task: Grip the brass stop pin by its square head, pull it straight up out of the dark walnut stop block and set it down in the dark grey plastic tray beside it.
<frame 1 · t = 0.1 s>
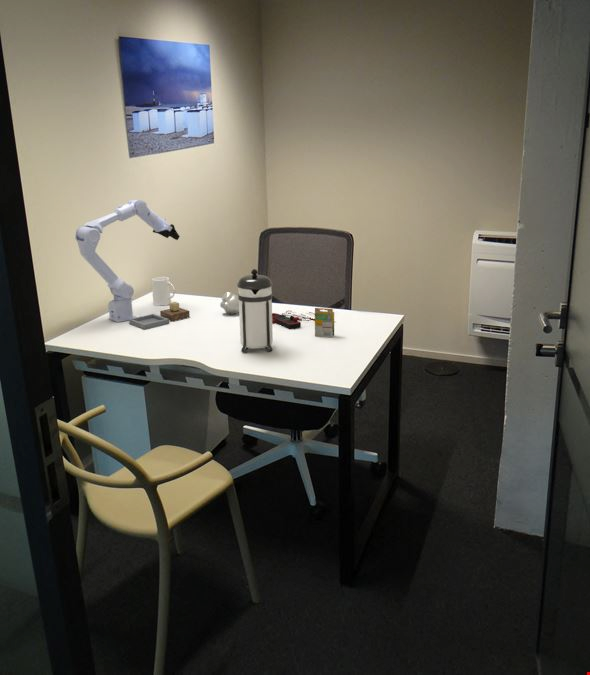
hand: (173, 237, 302), 32 cm above the table, tool tilted 50°, fingers open, 7 cm apart
digital clamp meter: (298, 322, 287), on the table
tray: (149, 323, 285), on the table
coffee press: (255, 347, 254), on the table
stop block: (175, 317, 294), on the table
mug: (164, 304, 316), on the table
stop pin: (174, 310, 293), in the stop block
white piggy bank: (231, 314, 299), on the table
crayon box: (324, 336, 266), on the table
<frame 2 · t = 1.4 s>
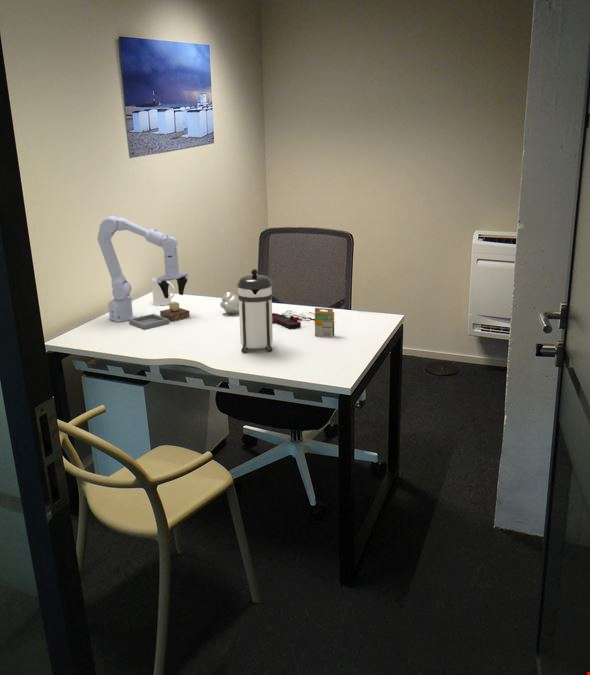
hand: (173, 296, 291), 9 cm above the table, tool pointing down, fingers open, 7 cm apart
nothing on the table moved.
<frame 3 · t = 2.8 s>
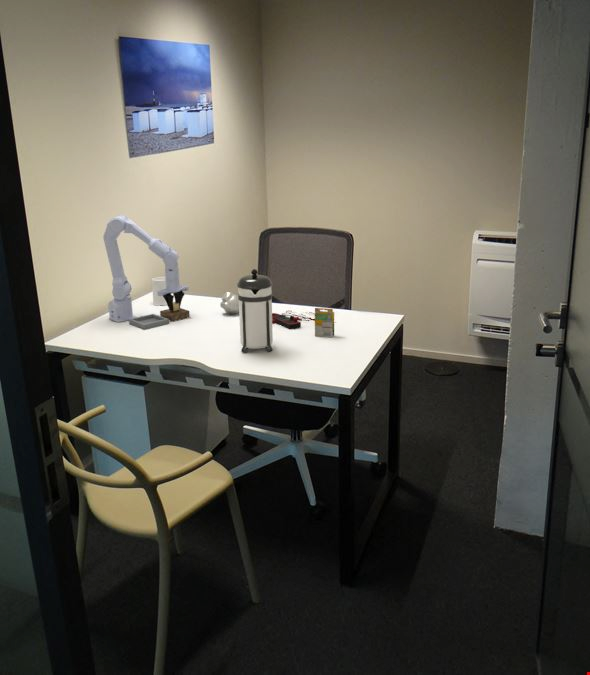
hand: (174, 309, 293), 4 cm above the table, tool pointing down, fingers closed on stop pin, 3 cm apart
stop pin: (174, 310, 293), in the stop block, touching gripper
everything else where it was.
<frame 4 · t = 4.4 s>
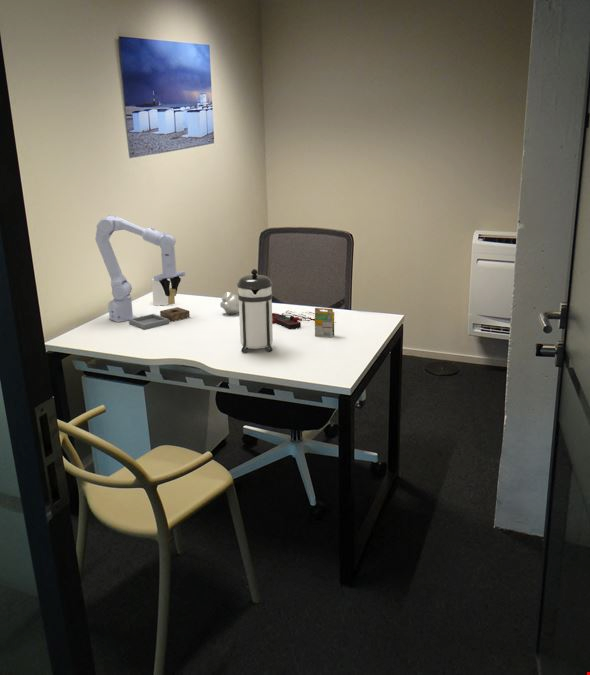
hand: (170, 295, 290), 10 cm above the table, tool pointing down, fingers closed on stop pin, 3 cm apart
stop pin: (171, 296, 290), point 10 cm above the table, touching gripper
everything else where it was.
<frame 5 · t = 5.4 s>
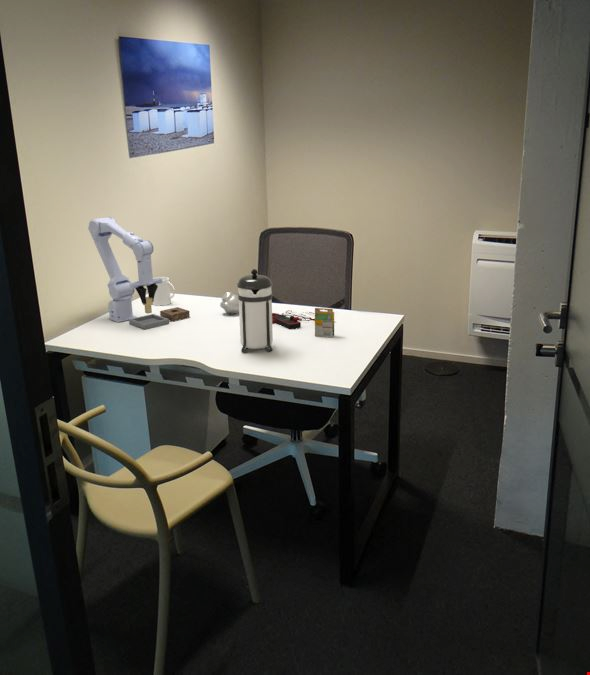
hand: (147, 302, 282), 9 cm above the table, tool pointing down, fingers closed on stop pin, 3 cm apart
stop pin: (147, 305, 283), point 8 cm above the table, touching gripper
everything else where it was.
when the fingers open (6 cm above the table, at t = 6.2 s): stop pin drops 1 cm, resting on tray.
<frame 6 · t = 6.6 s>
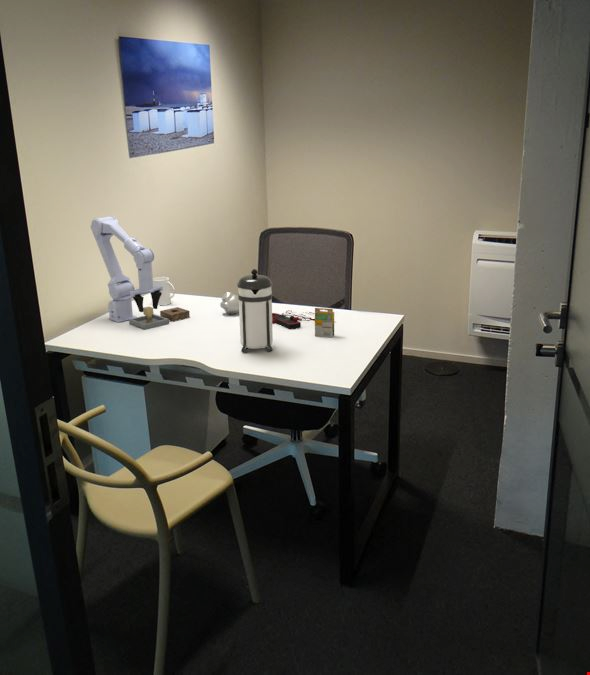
hand: (148, 310, 283), 6 cm above the table, tool pointing down, fingers open, 6 cm apart
stop pin: (148, 315, 284), in the tray
everything else where it was.
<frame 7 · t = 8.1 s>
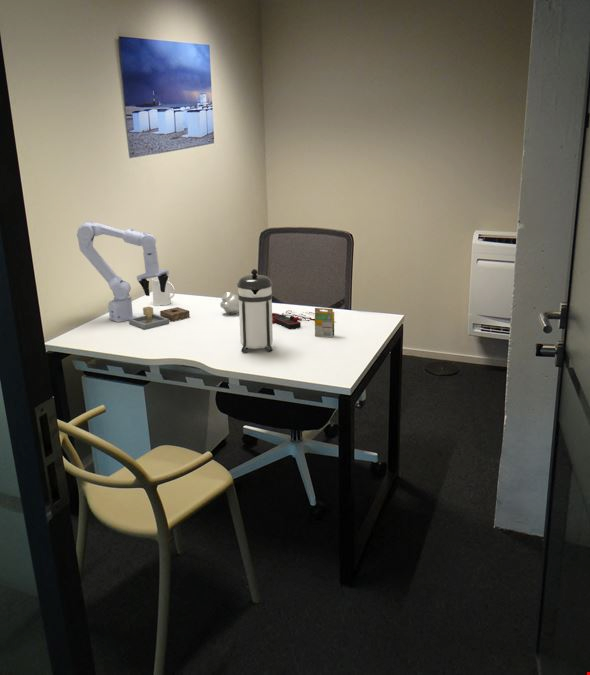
hand: (155, 293, 292), 10 cm above the table, tool pointing down, fingers open, 7 cm apart
nothing on the table moved.
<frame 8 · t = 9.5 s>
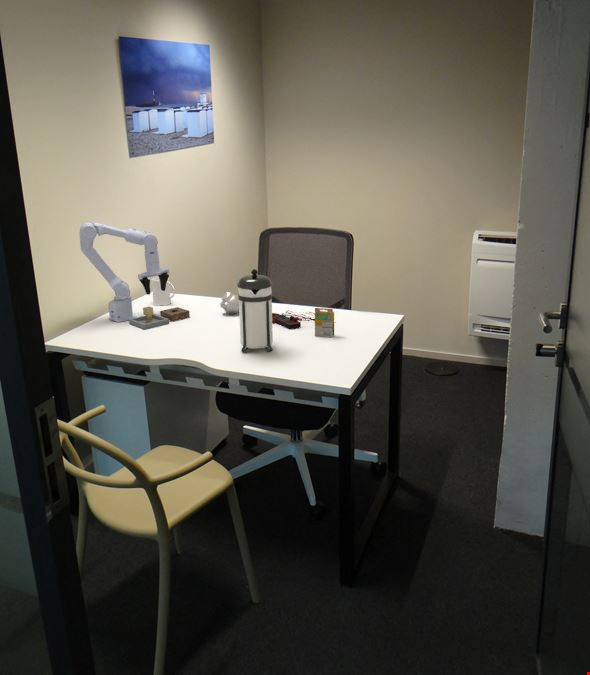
hand: (155, 292, 294), 10 cm above the table, tool pointing down, fingers open, 7 cm apart
nothing on the table moved.
at the end: stop pin inside the target area on the tray (0.0 cm from its centre), point 3.7 cm above the tray's base; the gripper is holding nothing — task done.
